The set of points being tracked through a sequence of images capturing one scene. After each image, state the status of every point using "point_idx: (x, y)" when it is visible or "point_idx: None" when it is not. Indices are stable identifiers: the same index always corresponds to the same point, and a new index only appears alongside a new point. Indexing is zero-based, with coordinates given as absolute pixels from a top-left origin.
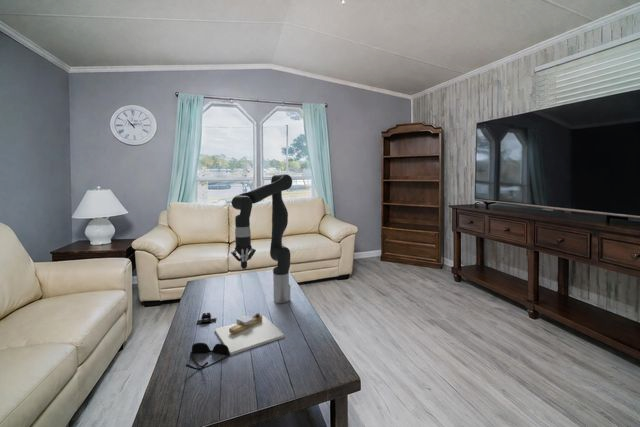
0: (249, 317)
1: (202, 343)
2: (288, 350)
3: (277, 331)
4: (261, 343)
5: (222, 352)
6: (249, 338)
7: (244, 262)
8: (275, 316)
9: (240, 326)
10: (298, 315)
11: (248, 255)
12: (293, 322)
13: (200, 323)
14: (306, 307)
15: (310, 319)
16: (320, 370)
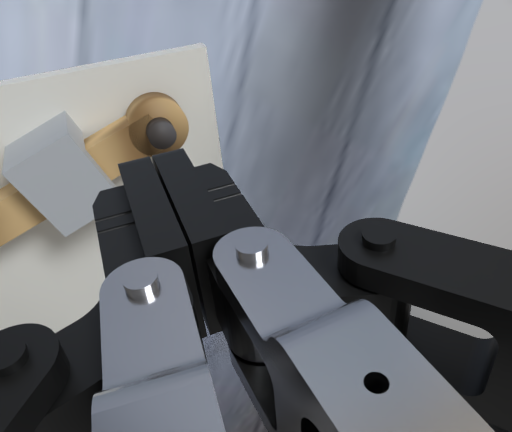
0: (100, 181)
1: None
2: (215, 345)
3: None
4: None
5: None
6: (78, 277)
7: (199, 326)
8: (273, 57)
9: (31, 224)
10: (380, 99)
11: (437, 311)
12: (323, 162)
13: None
14: (467, 17)
15: (398, 160)
16: (257, 422)
